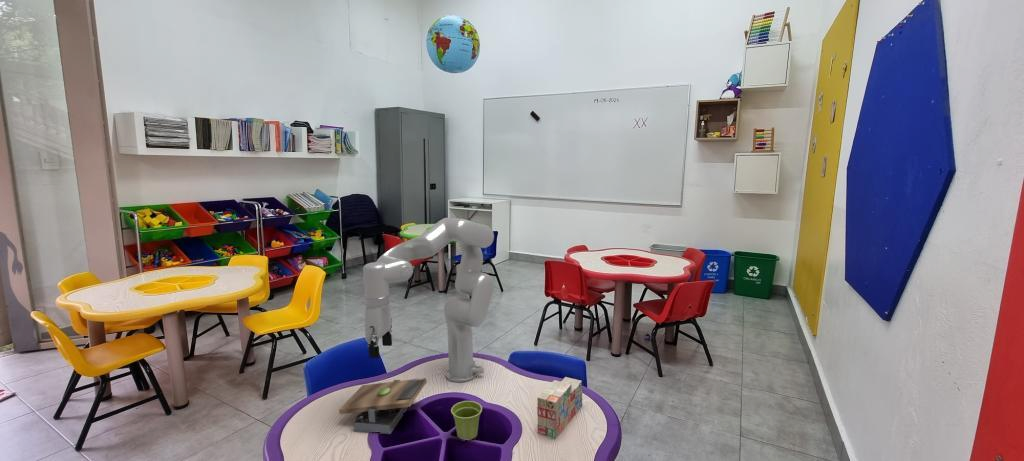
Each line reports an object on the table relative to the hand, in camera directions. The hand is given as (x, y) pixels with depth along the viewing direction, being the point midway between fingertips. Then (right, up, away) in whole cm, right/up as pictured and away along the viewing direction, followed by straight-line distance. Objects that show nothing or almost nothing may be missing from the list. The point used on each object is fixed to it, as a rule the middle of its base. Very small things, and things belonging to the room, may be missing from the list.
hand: (381, 351), depth 146 cm
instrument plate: (+1, -16, +2) cm, 16 cm away
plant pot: (+29, -24, -9) cm, 39 cm away
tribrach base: (+1, -22, +3) cm, 22 cm away
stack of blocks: (+59, -22, -1) cm, 63 cm away
